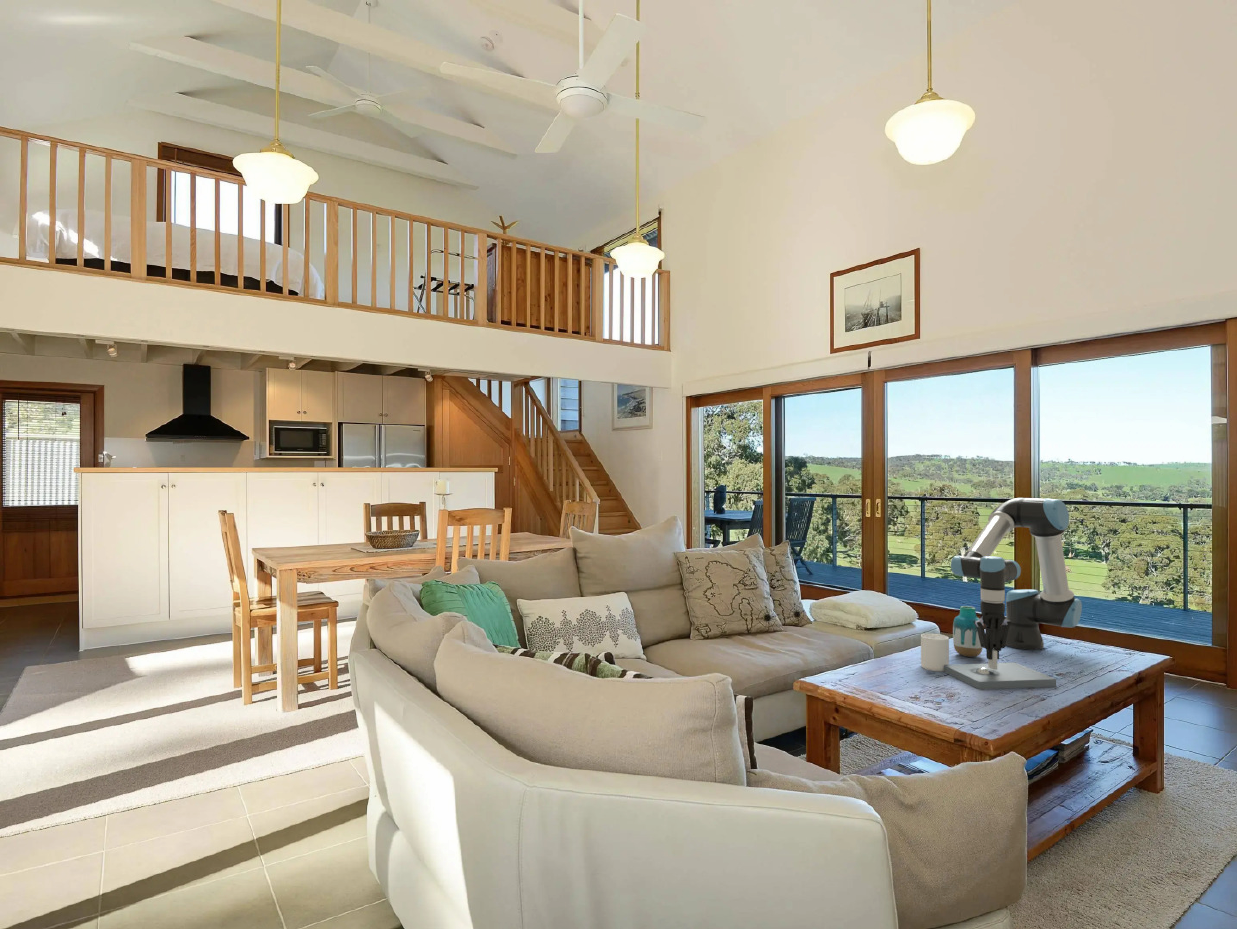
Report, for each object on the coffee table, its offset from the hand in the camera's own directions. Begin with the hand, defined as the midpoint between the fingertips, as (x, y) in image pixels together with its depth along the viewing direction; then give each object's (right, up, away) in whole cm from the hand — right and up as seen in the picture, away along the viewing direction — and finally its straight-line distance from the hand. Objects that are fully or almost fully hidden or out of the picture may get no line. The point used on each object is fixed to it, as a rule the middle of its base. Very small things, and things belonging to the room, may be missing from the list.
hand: (992, 668), depth 239 cm
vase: (+7, -4, +30) cm, 31 cm away
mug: (-15, -4, +14) cm, 21 cm away
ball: (-3, -2, 0) cm, 4 cm away
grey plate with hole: (+2, -4, 0) cm, 4 cm away
